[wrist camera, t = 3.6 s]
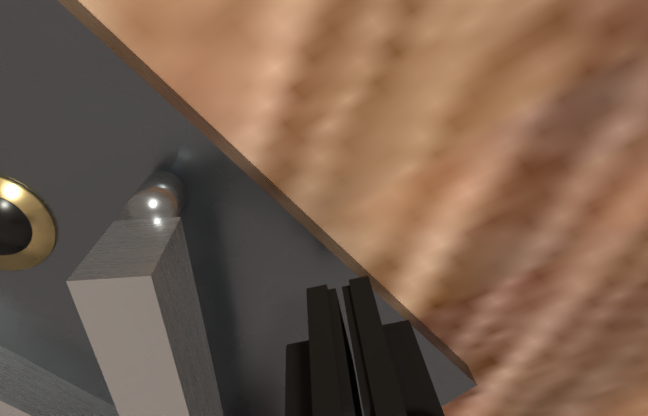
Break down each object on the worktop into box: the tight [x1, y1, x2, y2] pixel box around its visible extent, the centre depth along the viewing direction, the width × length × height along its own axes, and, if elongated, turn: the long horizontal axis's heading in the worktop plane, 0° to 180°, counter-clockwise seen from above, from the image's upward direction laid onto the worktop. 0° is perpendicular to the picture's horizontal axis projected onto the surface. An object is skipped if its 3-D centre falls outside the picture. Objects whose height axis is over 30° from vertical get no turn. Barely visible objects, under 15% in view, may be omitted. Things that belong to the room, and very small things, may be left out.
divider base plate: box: [0, 0, 477, 416], centre depth 14 cm, size 21×14×3 cm, turn 42°
